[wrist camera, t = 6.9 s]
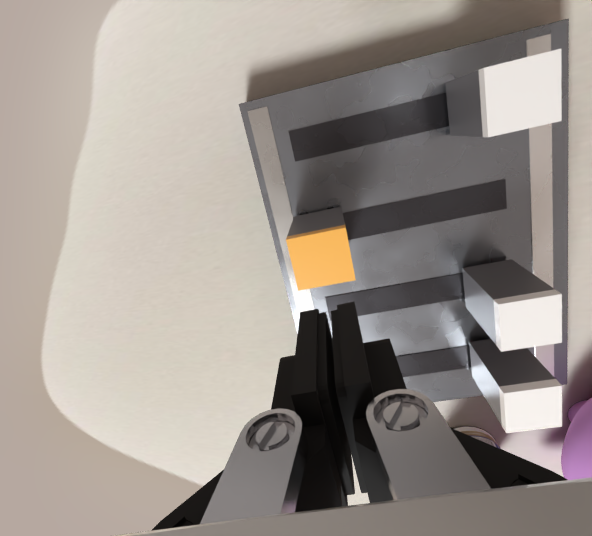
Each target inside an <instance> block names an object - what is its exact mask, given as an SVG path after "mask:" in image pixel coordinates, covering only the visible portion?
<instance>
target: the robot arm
mask: <svg viewBox="0 0 592 536" xmlns="http://www.w3.org/2000/svg"><path fill="white" fill-rule="evenodd" d="M331 322H332V335H331V331H330V327H329V323H328V318H327V315H326V312H322V313H319V310H318V309H313V310H308V311H303V312H300V318H299V327H298V336H297V345H296V353H295V355H294V356H288V357H282V358H281V359H280V363H279V368H278V374H277V380H276V385H275V391H274V397H273V402H272V408H271V410H268V411H265V412H263V413H260V414H259V415H257V416H255V417H254V418H252V419H251V420H250V421H249V422H248V423H247V424H246V425H245V426H244V428H243V430H242V431H241V433H240V435H239V437H238V440H237V442H236V444H235V446H234V449H233V451H232V453H231V455H230V458H229V460H228V462H227V464H226V466H225V469H224V470H223V471H222V472H220V473H219V474H218V475H217V476H216V477H214V478H213V479H212V480H211V481H209V482H208V483H207V484H206V485H204V486H203V487H202V488H201V489H200V490H198V491H197V492H196V493H195V494H194V495H192V496H191V497H190V498H189V499H187V500H186V501H185V502H184V503H183V504H181V505H180V506H179V507H177V508H176V509H175V510H174V511H173V512H172V513H170V514H169V515H168V516H166V517H165V518H164V519H163V520H162V521H160V522H159V523H158V525H156V526H155V527H154V528H153V529H152V530H151V531H145V532H138V533H130V534H122V535H115V536H592V477H591V478H582V479H574V480H567V479H565V478H564V477H562V476H560V475H558V474H556V473H555V472H553V471H550V470H548V469H546V468H543V467H541V466H539V465H536V464H534V463H532V462H529V461H527V460H525V459H522V458H520V457H518V456H515V455H513V454H511V453H508V452H506V451H504V450H502V449H499V448H497V447H495V446H492V445H490V444H488V443H485V442H483V441H481V440H478V439H476V438H474V437H471V436H469V435H467V434H464V433H462V432H460V431H457V430H455V429H453V428H450V427H449V425H448V424H447V422H446V421H445V419H444V418H443V416H442V415H441V413H440V412H439V410H438V409H437V407H436V406H435V404H434V403H433V402H432V401H431V400H430V399H429V398H428V397H427V396H426V395H424V394H422V393H420V392H417V391H414V390H410V389H407V388H406V385H405V382H404V379H403V376H402V373H401V370H400V367H399V364H398V361H397V358H396V356H395V353H394V350H393V347H392V344H391V341H390V339H389V338H388V339H382V340H377V341H371V342H366V343H363V339H362V335H361V330H360V325H359V320H358V316H357V311H356V306H355V302H349V303H344V304H339V305H337V310H333V311H331ZM351 454H352V457H351ZM352 458H353V462H354V466H355V470H356V474H357V478H358V482H359V486H360V490H361V493H367V492H368V496H369V501H370V503H367V504H359V505H351V506H348V502H347V495H351V494H355V489H354V478H353V468H352Z"/></svg>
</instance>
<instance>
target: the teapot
mask: <svg viewBox="0 0 592 536" xmlns="http://www.w3.org/2000/svg"><path fill="white" fill-rule="evenodd" d="M568 418H569V420H570V421H571V424H570V426H569V428H568V431H567V433H566V436H565V440H564V444H563V448H562V456H561V464H562V471H563V475H564V478H565V479H567V480H574V479H582V478H591V477H592V397H591V398H590V399H589V400H584V401H580V402H578V403H576V404H574V405H573V406H572V407H571V408H570V409H569V412H568Z"/></svg>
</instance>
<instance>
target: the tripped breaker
mask: <svg viewBox="0 0 592 536" xmlns="http://www.w3.org/2000/svg"><path fill="white" fill-rule="evenodd" d="M286 242H287V246H288V251H289V255H290V259H291V263H292V267H293V271H294V275H295V279H296V283H297V287H298V291H300V290H305V289H311V288H316V287H321V286H327V285H332V284H338V283H343V282H349V281H354V280H356V279H355V274H354V268H353V263H352V258H351V252H350V247H349V242H348V237H347V231H346V226H345V222H344V217H343V212H342V208H341V207H337V208H332V209H327V210H322V211H318V212H313V213H308V214H303V215H299V216H294V218H293V221H292V224H291V227H290V229H289V232H288V235H287V238H286Z"/></svg>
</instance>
